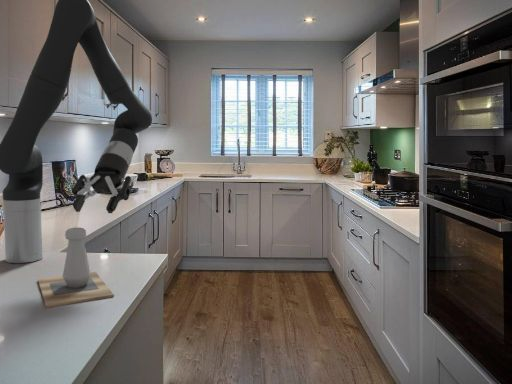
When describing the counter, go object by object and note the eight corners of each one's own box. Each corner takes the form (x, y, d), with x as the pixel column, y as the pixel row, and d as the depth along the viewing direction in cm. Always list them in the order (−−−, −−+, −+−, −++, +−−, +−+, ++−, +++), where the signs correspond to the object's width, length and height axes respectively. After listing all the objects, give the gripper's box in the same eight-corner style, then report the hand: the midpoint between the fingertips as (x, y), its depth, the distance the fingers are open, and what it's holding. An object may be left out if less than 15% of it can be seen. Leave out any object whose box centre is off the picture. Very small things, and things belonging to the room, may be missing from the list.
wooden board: (38, 281, 103) (38, 278, 103) (95, 273, 110) (95, 271, 110) (46, 307, 86) (46, 304, 86) (113, 296, 93) (113, 293, 93)
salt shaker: (81, 290, 95) (79, 231, 94) (57, 288, 96) (55, 230, 95) (95, 282, 101) (94, 226, 99) (73, 280, 102) (71, 225, 101)
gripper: (84, 151, 114) (58, 200, 103) (135, 152, 111) (114, 202, 101) (95, 171, 119) (72, 218, 109) (144, 172, 117) (125, 221, 107)
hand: (92, 210), depth 105 cm, fingers open, 8 cm apart
